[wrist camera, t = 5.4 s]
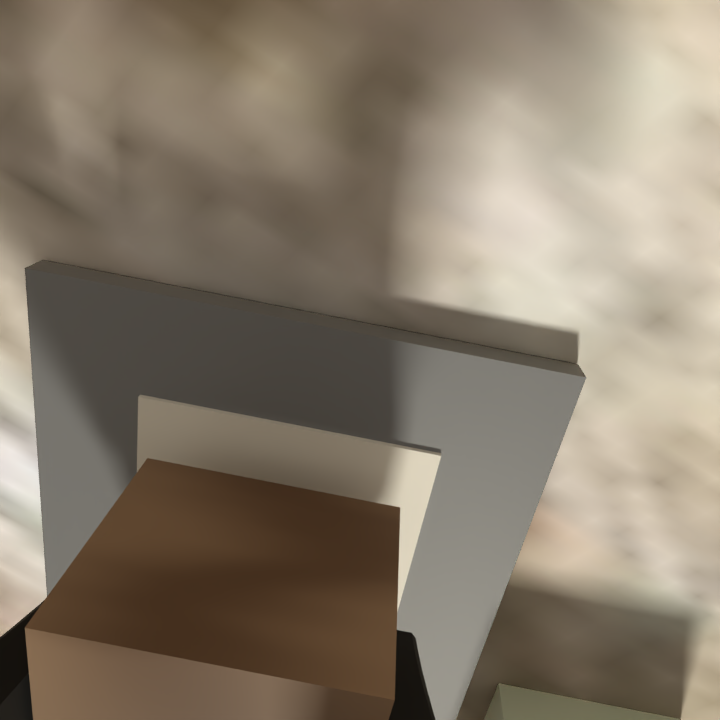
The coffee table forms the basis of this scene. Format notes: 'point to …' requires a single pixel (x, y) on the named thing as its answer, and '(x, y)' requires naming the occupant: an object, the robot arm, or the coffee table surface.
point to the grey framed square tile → (300, 431)
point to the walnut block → (222, 606)
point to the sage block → (555, 707)
